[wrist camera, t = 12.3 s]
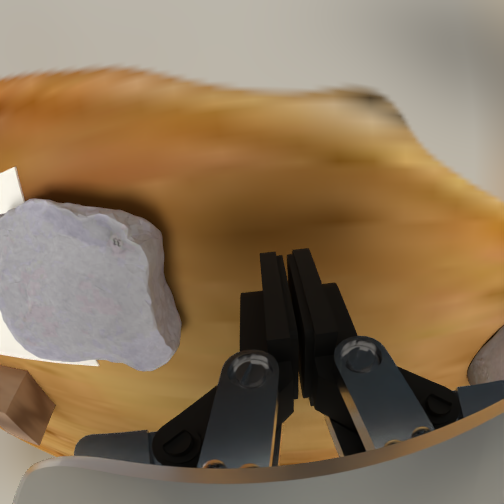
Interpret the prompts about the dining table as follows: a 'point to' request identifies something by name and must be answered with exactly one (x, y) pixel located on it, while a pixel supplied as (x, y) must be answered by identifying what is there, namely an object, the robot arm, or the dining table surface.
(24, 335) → the stone block
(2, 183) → the letter
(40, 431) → the walnut cube
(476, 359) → the pillar candle
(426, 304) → the dining table surface
